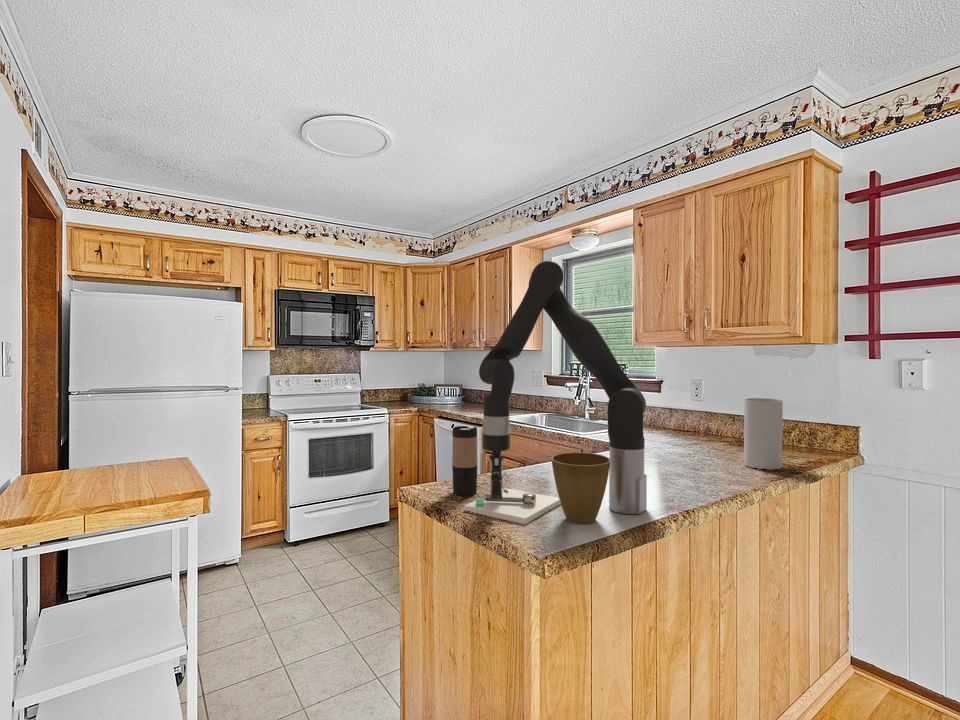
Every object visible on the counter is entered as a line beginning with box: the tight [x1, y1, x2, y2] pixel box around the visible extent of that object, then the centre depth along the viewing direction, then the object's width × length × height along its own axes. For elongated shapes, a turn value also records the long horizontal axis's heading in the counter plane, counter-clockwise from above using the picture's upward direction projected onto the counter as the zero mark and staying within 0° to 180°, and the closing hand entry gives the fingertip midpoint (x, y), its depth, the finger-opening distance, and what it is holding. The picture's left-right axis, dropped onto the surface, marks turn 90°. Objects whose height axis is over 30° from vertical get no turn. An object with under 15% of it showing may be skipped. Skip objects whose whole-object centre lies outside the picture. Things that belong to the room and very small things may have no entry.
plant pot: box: [550, 451, 610, 525], centre depth 133 cm, size 15×15×16 cm
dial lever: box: [486, 474, 536, 504], centre depth 142 cm, size 14×4×7 cm, turn 82°
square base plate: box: [463, 487, 561, 525], centre depth 144 cm, size 20×21×2 cm
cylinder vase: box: [743, 397, 784, 471], centre depth 192 cm, size 12×12×25 cm
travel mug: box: [451, 425, 478, 497], centre depth 157 cm, size 8×8×20 cm
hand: (496, 490), depth 141 cm, fingers open, 8 cm apart
